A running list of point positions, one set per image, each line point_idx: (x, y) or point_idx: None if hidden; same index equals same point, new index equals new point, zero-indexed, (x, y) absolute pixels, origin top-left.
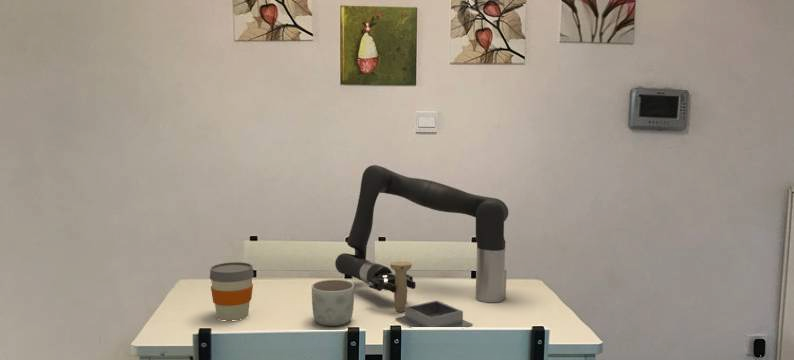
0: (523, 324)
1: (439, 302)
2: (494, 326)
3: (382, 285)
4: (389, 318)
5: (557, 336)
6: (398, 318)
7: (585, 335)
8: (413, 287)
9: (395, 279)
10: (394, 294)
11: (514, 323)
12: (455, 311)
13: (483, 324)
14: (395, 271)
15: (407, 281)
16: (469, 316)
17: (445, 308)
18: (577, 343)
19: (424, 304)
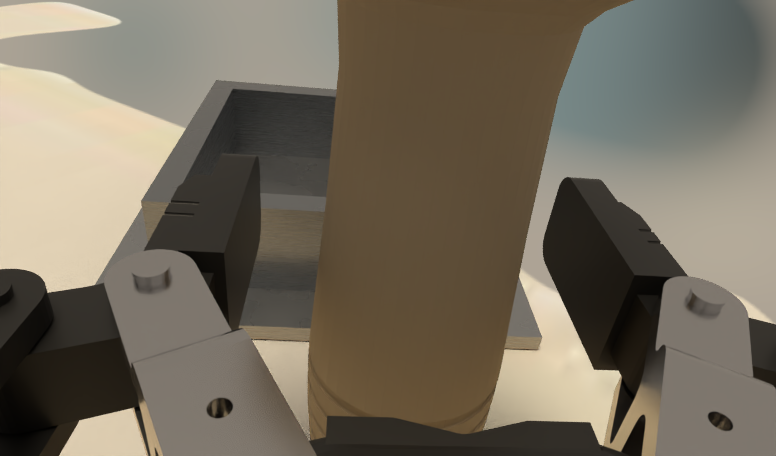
0: (10, 76)
1: (177, 173)
2: (123, 105)
3: (760, 333)
4: (573, 399)
5: (71, 29)
6: (521, 323)
7: (3, 10)
8: (260, 215)
9: (536, 188)
10: (495, 387)
11: (20, 88)
12: (229, 105)
13: (133, 125)
14: (580, 32)
15: (230, 262)
16: (55, 187)
17: (208, 155)
18: (94, 11)
19: (313, 196)
